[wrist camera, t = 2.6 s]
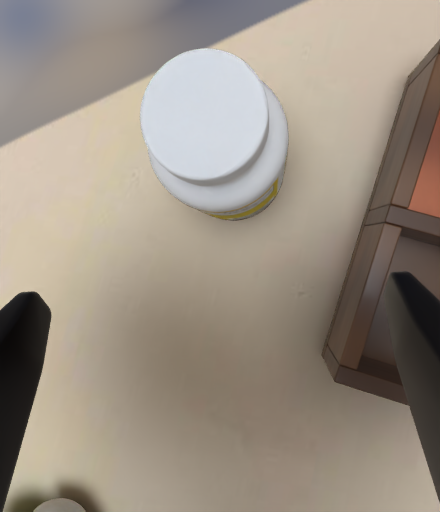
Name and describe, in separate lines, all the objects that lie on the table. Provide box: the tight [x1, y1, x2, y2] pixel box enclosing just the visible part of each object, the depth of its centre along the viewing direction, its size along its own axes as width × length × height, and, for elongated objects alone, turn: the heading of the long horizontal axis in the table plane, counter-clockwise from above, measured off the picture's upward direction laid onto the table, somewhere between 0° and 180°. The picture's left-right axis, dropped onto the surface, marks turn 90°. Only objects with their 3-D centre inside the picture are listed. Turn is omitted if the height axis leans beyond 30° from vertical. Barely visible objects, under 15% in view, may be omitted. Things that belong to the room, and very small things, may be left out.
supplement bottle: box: [140, 48, 289, 220], centre depth 17 cm, size 5×5×10 cm
